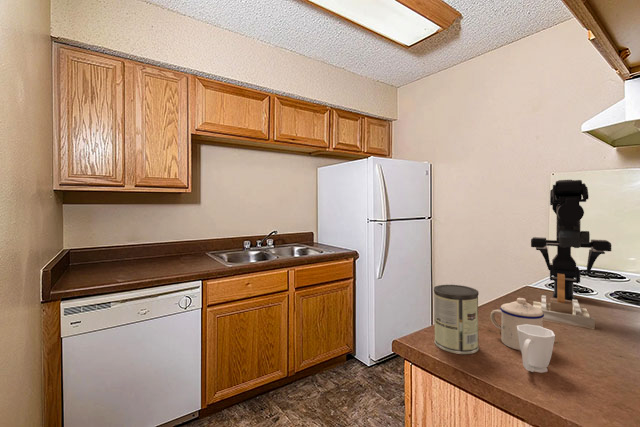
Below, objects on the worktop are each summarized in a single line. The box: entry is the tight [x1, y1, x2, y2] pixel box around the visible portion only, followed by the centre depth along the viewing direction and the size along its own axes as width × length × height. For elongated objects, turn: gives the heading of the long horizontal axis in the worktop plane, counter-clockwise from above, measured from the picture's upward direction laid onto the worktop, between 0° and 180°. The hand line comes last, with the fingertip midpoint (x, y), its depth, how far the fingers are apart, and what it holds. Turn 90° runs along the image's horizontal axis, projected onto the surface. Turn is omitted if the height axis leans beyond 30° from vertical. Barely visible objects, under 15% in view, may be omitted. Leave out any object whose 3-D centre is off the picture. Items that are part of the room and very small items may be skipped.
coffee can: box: [433, 284, 480, 355], centre depth 76 cm, size 10×10×14 cm
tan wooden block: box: [549, 273, 573, 314], centre depth 89 cm, size 5×5×13 cm
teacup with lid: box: [489, 297, 544, 352], centre depth 77 cm, size 12×9×12 cm
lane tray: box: [532, 295, 596, 330], centre depth 94 cm, size 20×14×4 cm
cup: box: [517, 324, 556, 374], centre depth 64 cm, size 7×10×8 cm
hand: (568, 271), depth 93 cm, fingers open, 9 cm apart
